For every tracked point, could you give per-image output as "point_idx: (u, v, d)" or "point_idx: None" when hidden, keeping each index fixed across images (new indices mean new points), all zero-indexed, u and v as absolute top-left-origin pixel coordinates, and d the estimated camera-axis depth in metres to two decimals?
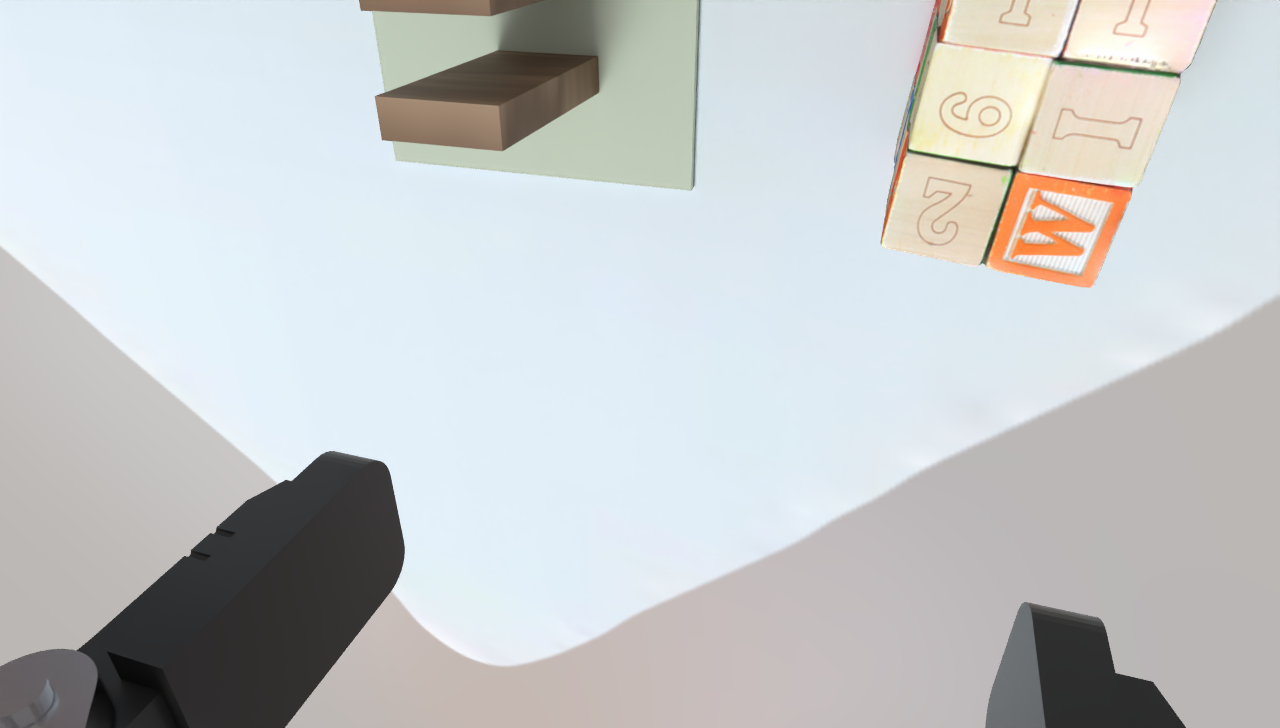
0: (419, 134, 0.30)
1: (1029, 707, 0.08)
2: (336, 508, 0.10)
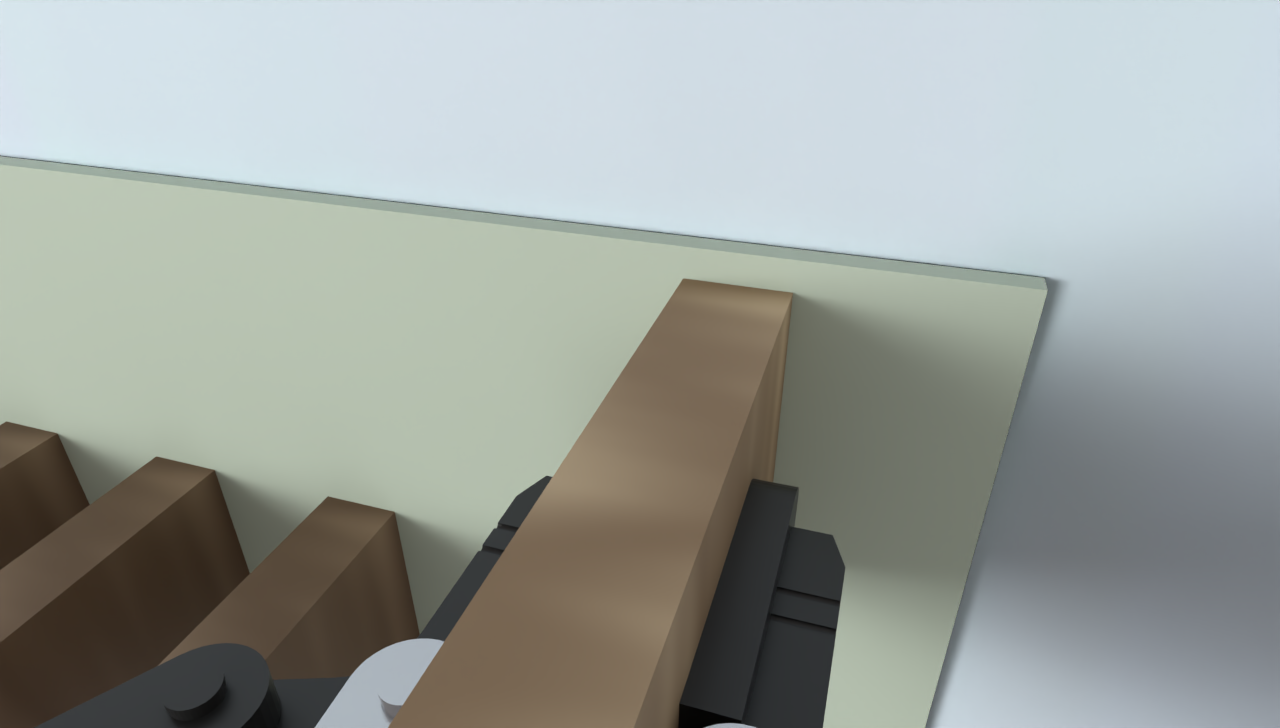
0: None
1: None
2: None
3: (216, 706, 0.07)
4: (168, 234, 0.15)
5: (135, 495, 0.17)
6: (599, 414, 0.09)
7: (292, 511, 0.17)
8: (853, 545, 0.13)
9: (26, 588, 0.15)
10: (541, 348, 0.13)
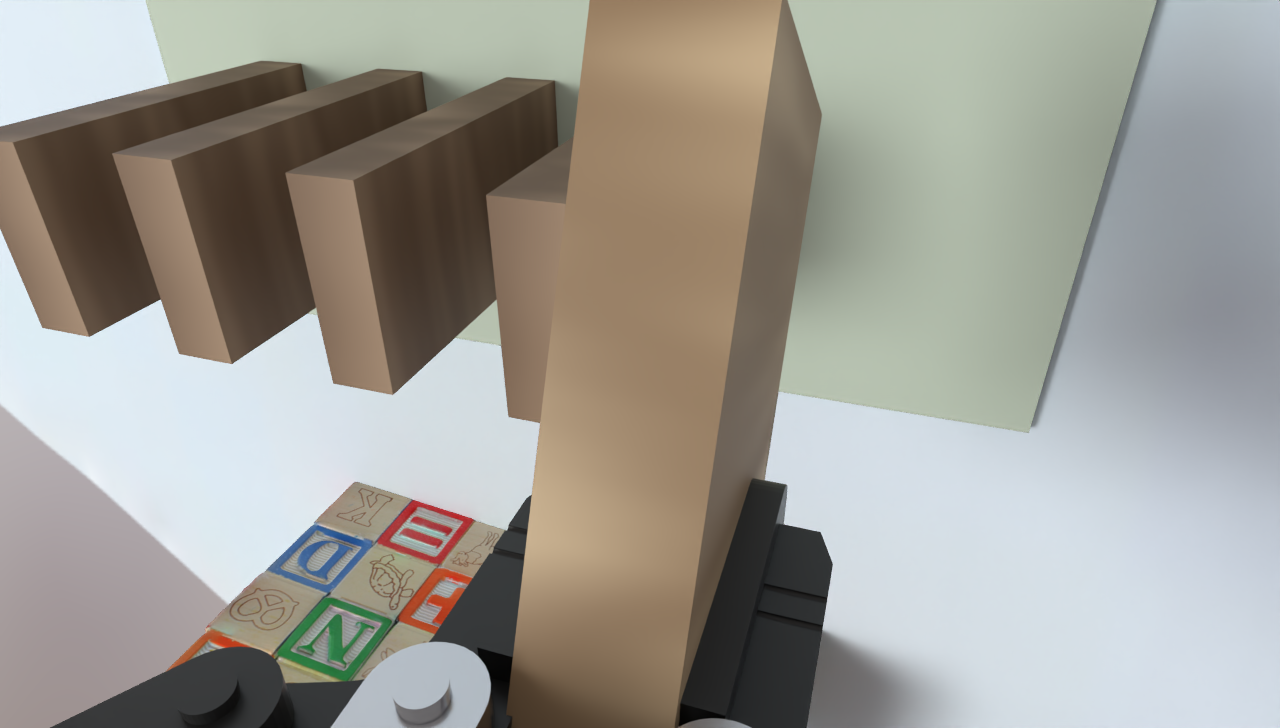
0: (0, 206, 0.19)
1: None
2: None
3: (229, 710, 0.07)
4: None
5: (508, 86, 0.23)
6: (548, 409, 0.07)
7: None
8: (1060, 44, 0.20)
9: (470, 107, 0.21)
10: None
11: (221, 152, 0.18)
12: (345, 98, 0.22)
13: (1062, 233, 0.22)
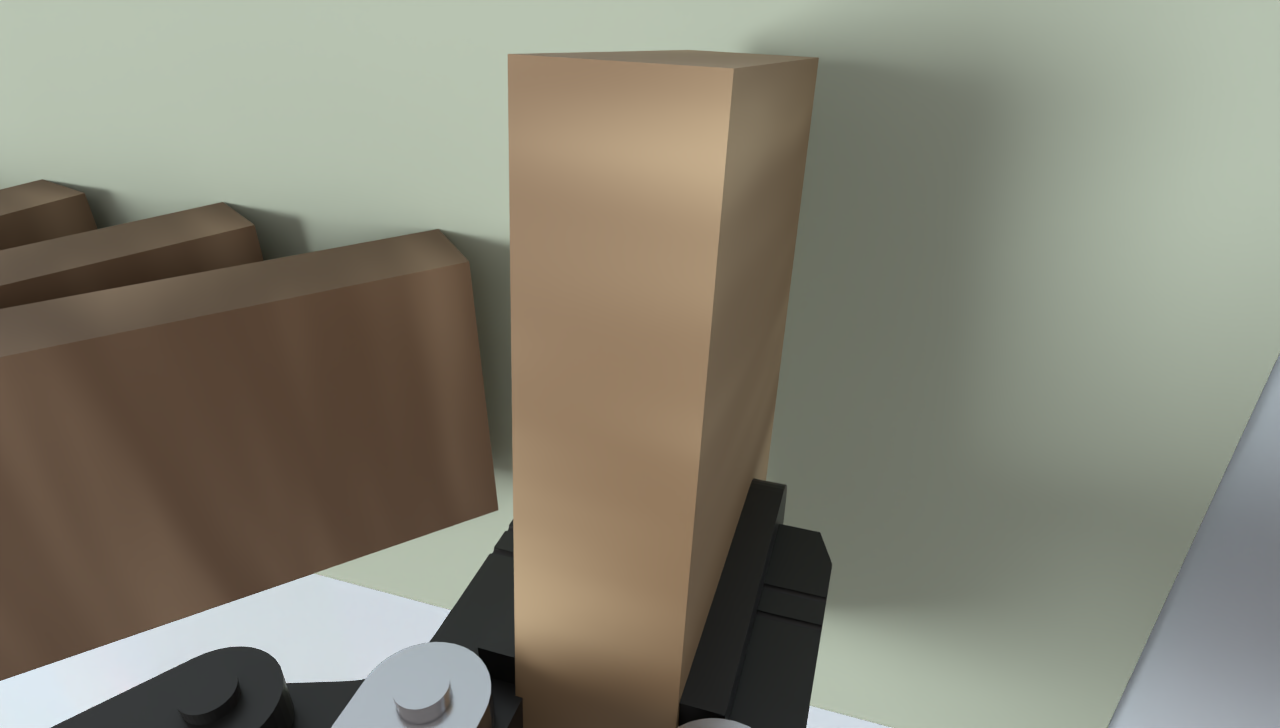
0: None
1: None
2: None
3: (230, 711, 0.07)
4: None
5: (161, 228, 0.14)
6: (519, 506, 0.07)
7: None
8: (1173, 198, 0.10)
9: None
10: None
11: None
12: None
13: (1157, 510, 0.12)
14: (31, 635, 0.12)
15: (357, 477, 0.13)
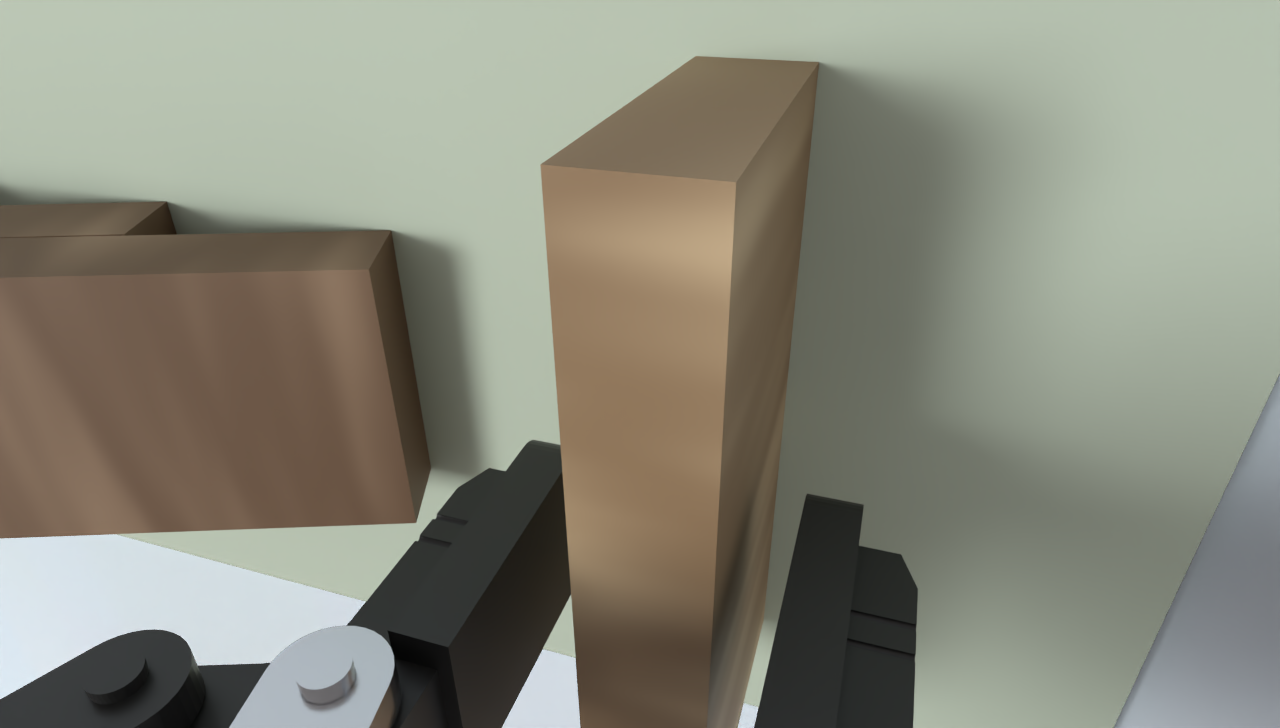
0: None
1: None
2: (555, 494, 0.10)
3: (140, 687, 0.07)
4: None
5: (77, 215, 0.14)
6: (570, 514, 0.08)
7: None
8: (1175, 204, 0.10)
9: None
10: None
11: None
12: None
13: (1158, 522, 0.12)
14: None
15: (266, 453, 0.14)
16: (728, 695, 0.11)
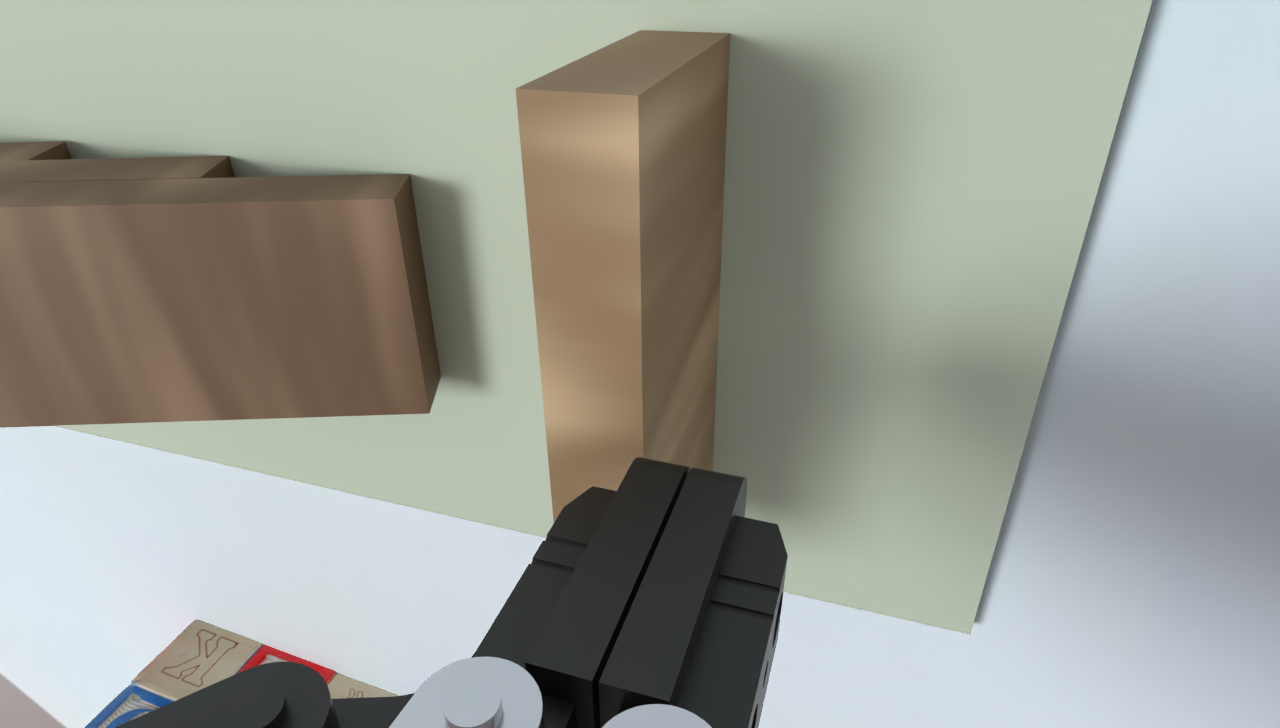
0: None
1: None
2: (669, 515, 0.10)
3: None
4: None
5: (160, 165, 0.18)
6: (542, 347, 0.12)
7: None
8: (989, 134, 0.13)
9: (30, 171, 0.17)
10: None
11: None
12: None
13: (1004, 391, 0.15)
14: (96, 400, 0.18)
15: (310, 352, 0.17)
16: None
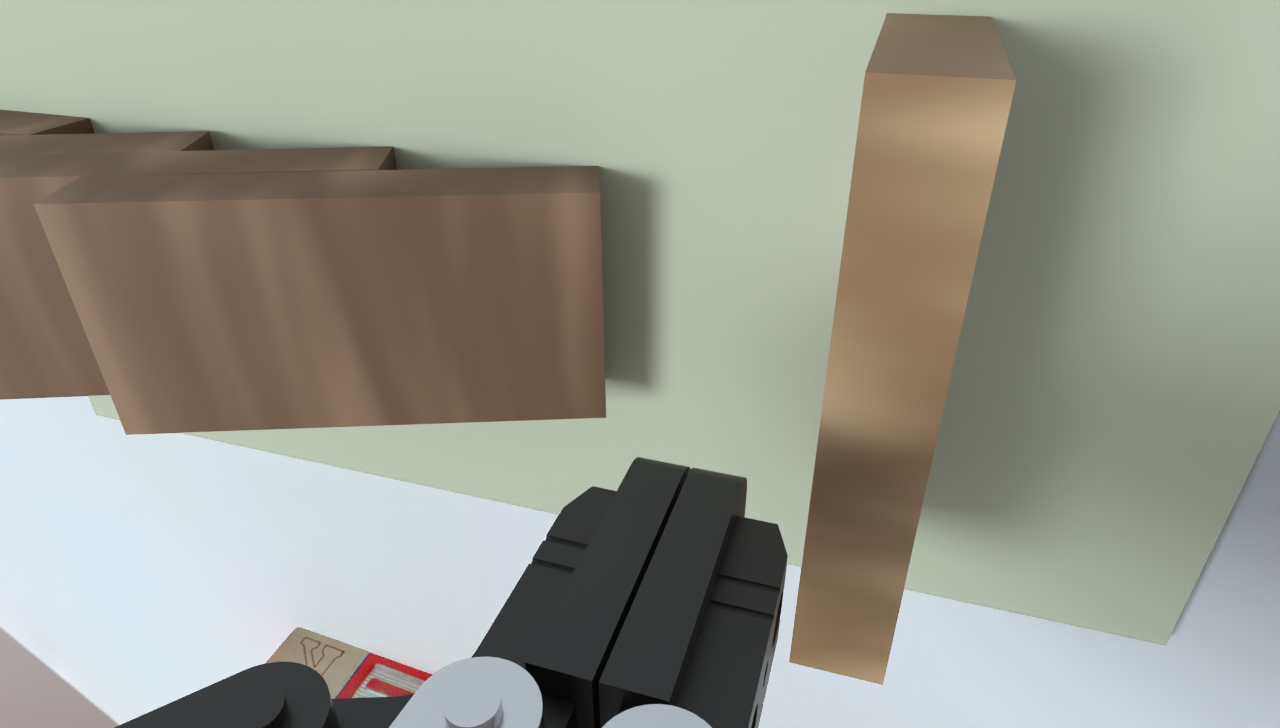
0: None
1: None
2: (669, 515, 0.10)
3: None
4: None
5: (326, 156, 0.17)
6: (833, 351, 0.11)
7: None
8: (1274, 125, 0.12)
9: (192, 162, 0.16)
10: None
11: None
12: None
13: (1246, 394, 0.15)
14: (260, 404, 0.17)
15: (491, 354, 0.16)
16: None
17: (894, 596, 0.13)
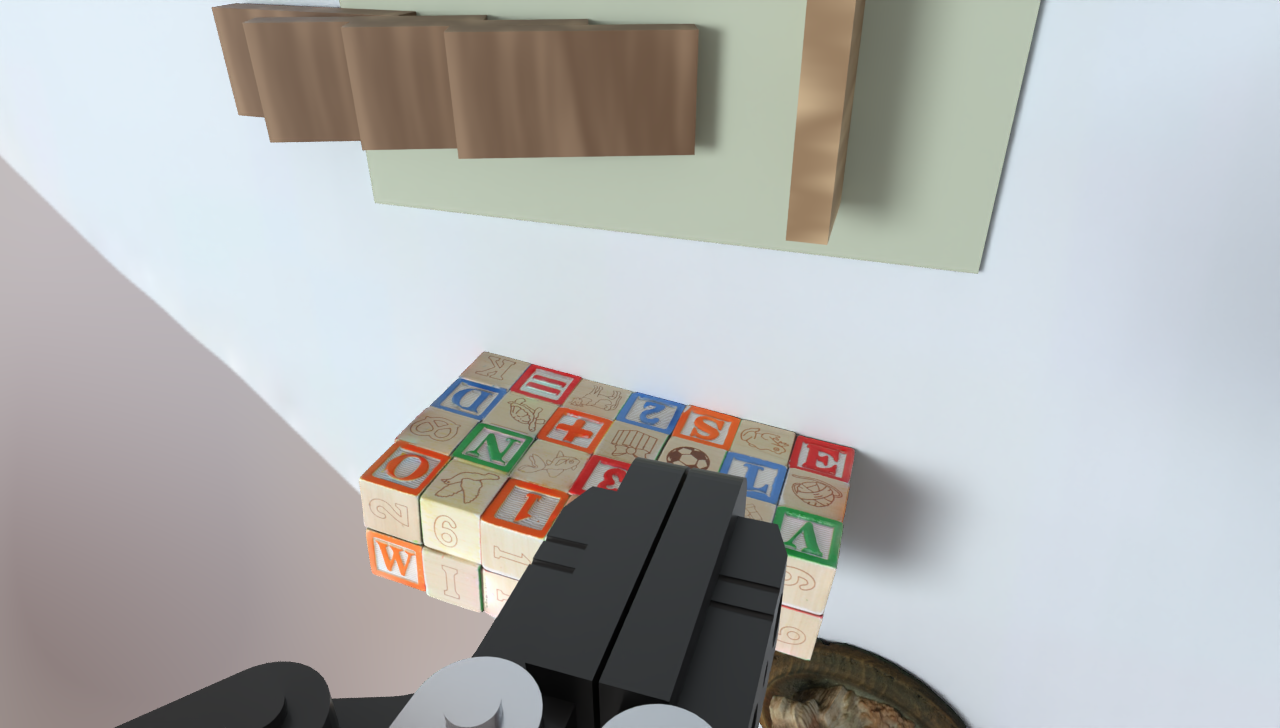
0: None
1: None
2: (669, 515, 0.10)
3: None
4: None
5: (559, 21, 0.34)
6: (802, 70, 0.28)
7: None
8: None
9: (495, 22, 0.34)
10: None
11: (277, 28, 0.34)
12: None
13: (996, 121, 0.32)
14: (526, 142, 0.34)
15: (641, 116, 0.34)
16: (838, 176, 0.31)
17: (830, 192, 0.30)
